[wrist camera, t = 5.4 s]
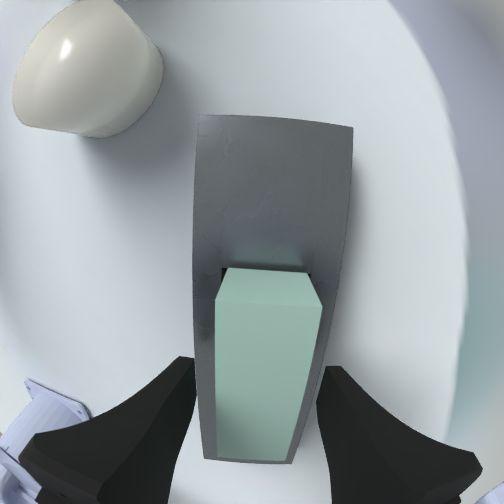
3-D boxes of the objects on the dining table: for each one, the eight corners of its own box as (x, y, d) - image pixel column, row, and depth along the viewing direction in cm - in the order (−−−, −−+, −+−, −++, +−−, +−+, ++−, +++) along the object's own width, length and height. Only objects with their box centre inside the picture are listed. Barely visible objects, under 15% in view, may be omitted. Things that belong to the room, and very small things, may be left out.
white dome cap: (156, 133, 12) (104, 111, 7) (63, 144, 12) (3, 139, 7) (171, 29, 11) (138, -20, 6) (80, 51, 11) (32, 24, 6)
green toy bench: (280, 381, 15) (285, 460, 9) (230, 378, 15) (217, 456, 9) (297, 253, 13) (322, 306, 7) (235, 249, 13) (215, 299, 8)
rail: (289, 438, 17) (291, 464, 14) (209, 433, 17) (203, 458, 14) (337, 137, 12) (353, 127, 9) (210, 127, 12) (199, 115, 9)
